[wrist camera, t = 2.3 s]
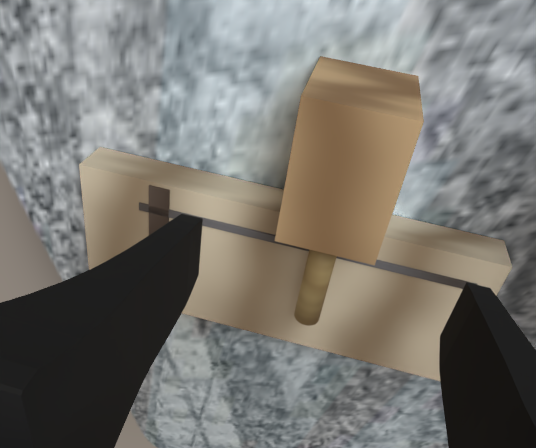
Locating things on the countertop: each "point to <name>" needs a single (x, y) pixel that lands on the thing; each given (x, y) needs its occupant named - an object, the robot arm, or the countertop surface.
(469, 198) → the countertop surface
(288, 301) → the maple board
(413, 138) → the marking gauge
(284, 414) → the countertop surface
